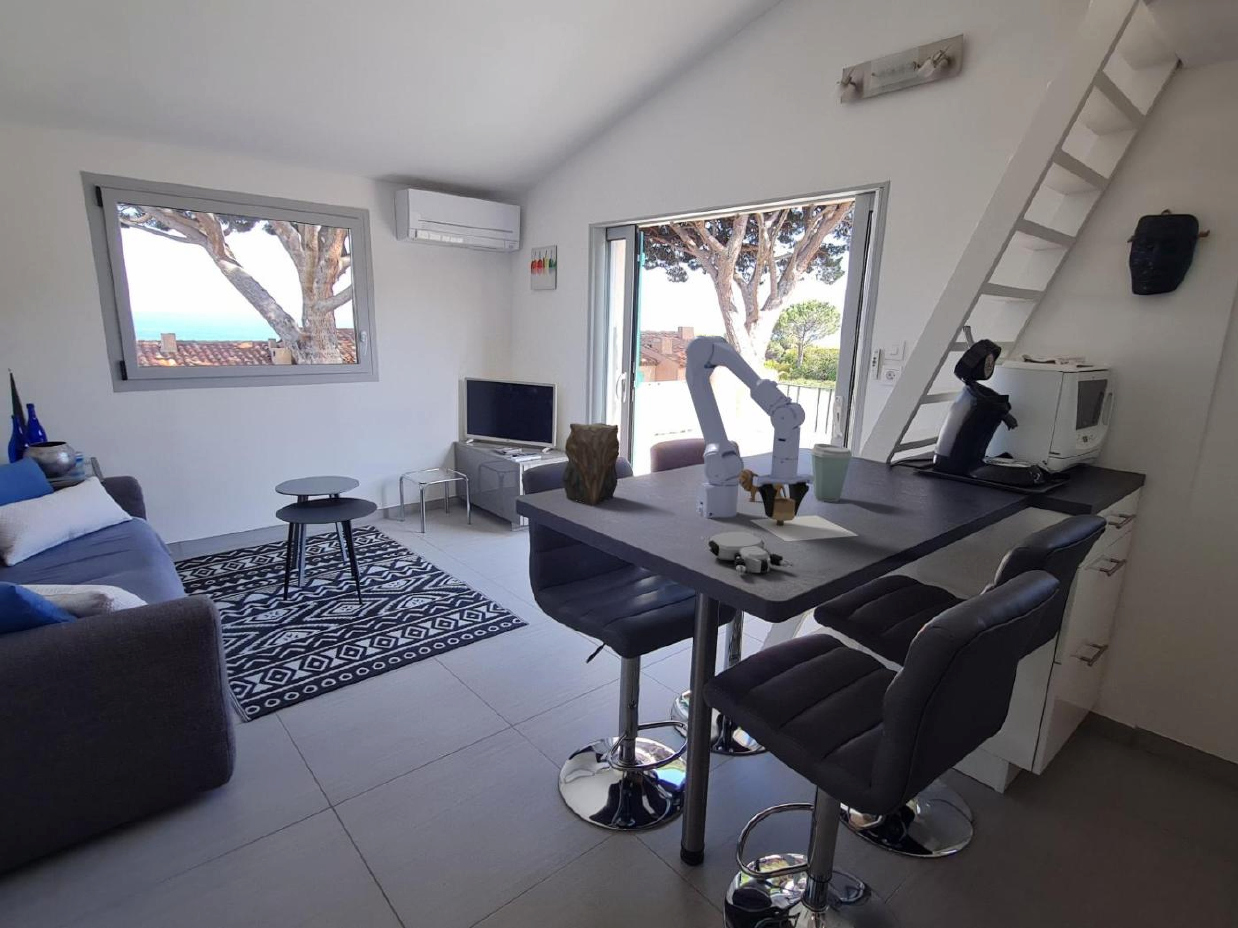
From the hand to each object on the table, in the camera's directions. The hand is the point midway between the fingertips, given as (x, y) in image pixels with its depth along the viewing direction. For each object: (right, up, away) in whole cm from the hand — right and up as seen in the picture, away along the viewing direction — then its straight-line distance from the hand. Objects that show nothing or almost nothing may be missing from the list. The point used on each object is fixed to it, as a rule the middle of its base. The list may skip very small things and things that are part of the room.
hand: (780, 515), depth 146 cm
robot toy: (-13, -8, -21) cm, 26 cm away
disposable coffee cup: (+20, +2, +29) cm, 36 cm away
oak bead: (0, 0, 0) cm, 0 cm away
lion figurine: (+1, +1, +24) cm, 24 cm away
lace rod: (0, -2, 0) cm, 2 cm away
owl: (-45, +2, +24) cm, 51 cm away
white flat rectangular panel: (+5, -4, -1) cm, 6 cm away
